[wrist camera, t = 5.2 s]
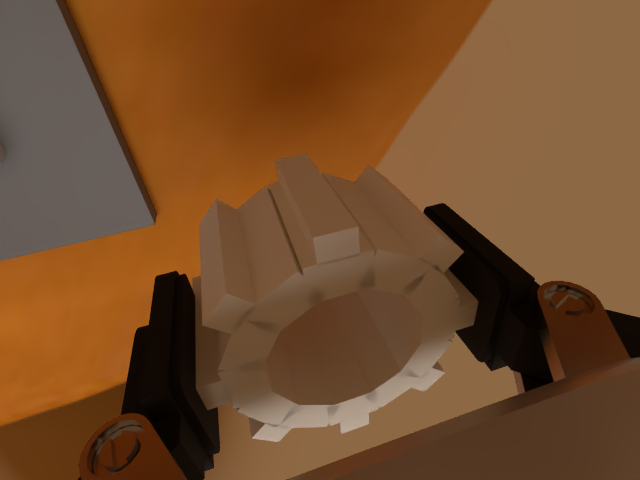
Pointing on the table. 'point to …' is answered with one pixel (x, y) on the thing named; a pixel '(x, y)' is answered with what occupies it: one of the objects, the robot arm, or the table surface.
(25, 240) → the gear board
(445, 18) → the table surface
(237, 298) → the gear
